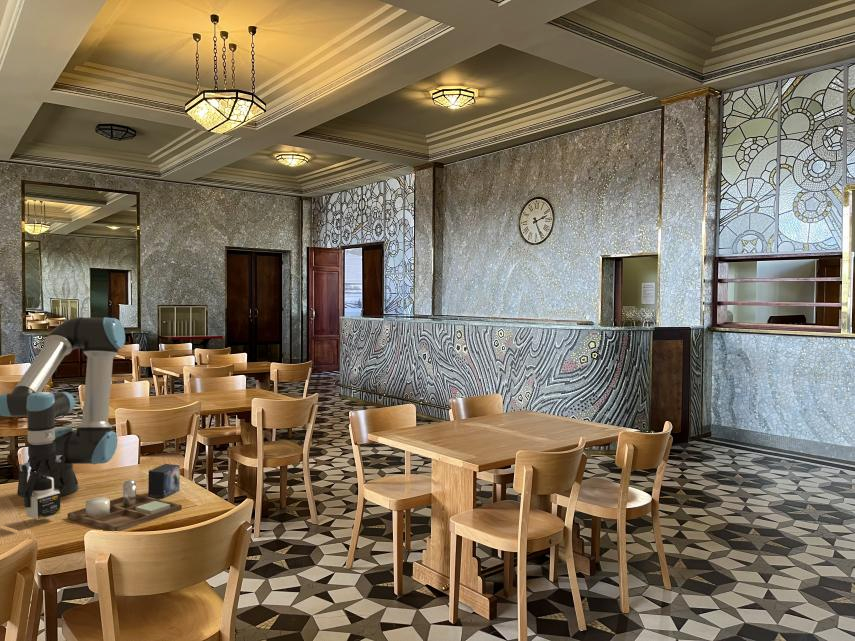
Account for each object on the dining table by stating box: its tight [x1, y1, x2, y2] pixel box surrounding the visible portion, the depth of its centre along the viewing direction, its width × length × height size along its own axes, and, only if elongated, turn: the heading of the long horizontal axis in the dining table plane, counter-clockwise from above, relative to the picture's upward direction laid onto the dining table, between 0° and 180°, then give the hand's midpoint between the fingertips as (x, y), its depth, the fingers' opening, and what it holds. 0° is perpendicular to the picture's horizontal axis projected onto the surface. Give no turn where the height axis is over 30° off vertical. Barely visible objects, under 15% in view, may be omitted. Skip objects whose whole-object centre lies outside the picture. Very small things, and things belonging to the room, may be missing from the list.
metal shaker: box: [122, 479, 137, 508], centre depth 224 cm, size 4×4×9 cm
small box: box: [147, 463, 181, 500], centre depth 238 cm, size 11×6×10 cm, turn 168°
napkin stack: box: [136, 501, 170, 515], centre depth 219 cm, size 8×8×2 cm
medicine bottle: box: [25, 476, 62, 521], centre depth 209 cm, size 7×7×12 cm
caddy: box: [67, 493, 183, 532], centre depth 217 cm, size 24×24×2 cm
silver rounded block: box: [85, 496, 110, 519], centre depth 214 cm, size 7×7×5 cm
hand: (43, 512), depth 209 cm, fingers closed on medicine bottle, 7 cm apart
